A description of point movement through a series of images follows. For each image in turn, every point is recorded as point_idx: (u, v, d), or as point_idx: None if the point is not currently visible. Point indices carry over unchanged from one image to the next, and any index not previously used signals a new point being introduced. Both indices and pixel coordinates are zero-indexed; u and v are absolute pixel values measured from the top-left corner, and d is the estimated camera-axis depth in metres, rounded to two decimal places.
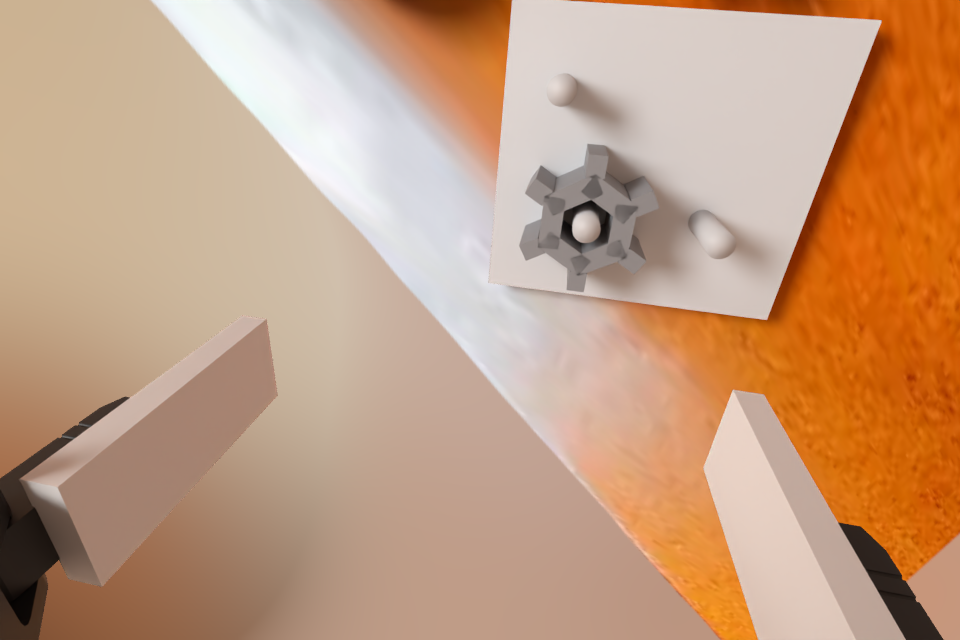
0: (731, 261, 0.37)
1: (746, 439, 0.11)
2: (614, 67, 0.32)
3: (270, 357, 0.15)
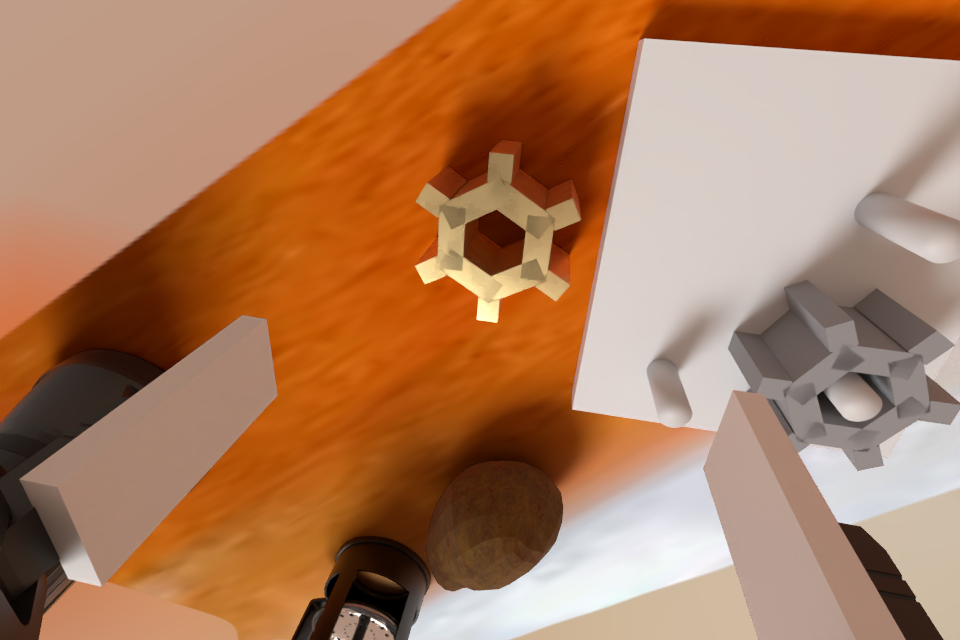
0: None
1: (745, 439, 0.11)
2: (648, 324, 0.30)
3: (270, 357, 0.15)
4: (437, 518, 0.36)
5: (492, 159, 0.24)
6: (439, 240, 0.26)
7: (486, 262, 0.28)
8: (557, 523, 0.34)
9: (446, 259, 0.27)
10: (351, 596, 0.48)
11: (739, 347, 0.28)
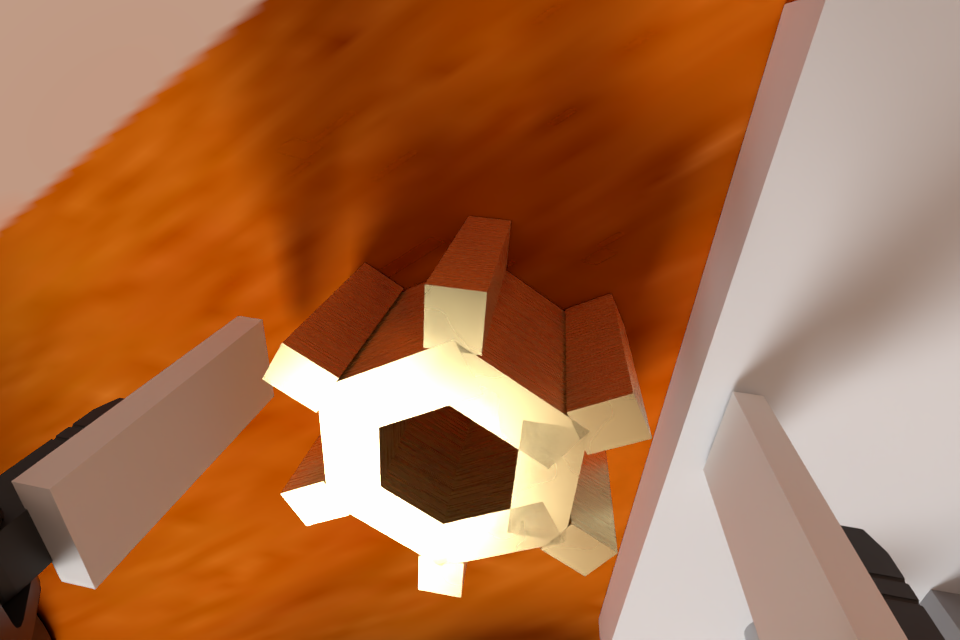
0: None
1: (746, 441, 0.11)
2: None
3: (266, 358, 0.15)
4: None
5: (433, 300, 0.10)
6: (325, 454, 0.12)
7: (437, 474, 0.13)
8: None
9: (344, 487, 0.12)
10: None
11: None
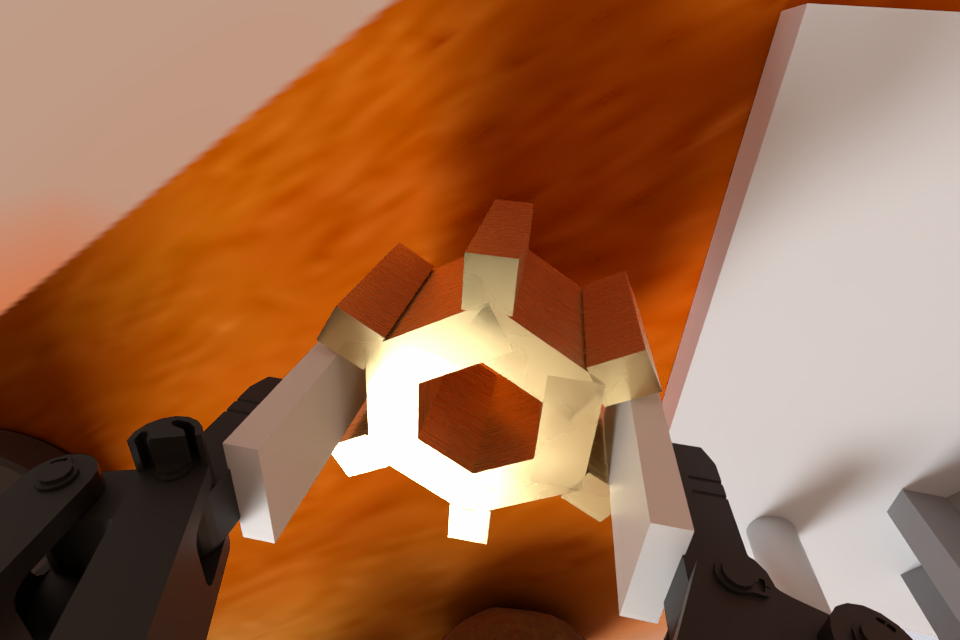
0: None
1: None
2: (757, 468, 0.19)
3: None
4: None
5: (471, 267, 0.11)
6: (369, 409, 0.13)
7: (466, 432, 0.15)
8: None
9: (385, 440, 0.14)
10: None
11: (919, 525, 0.17)
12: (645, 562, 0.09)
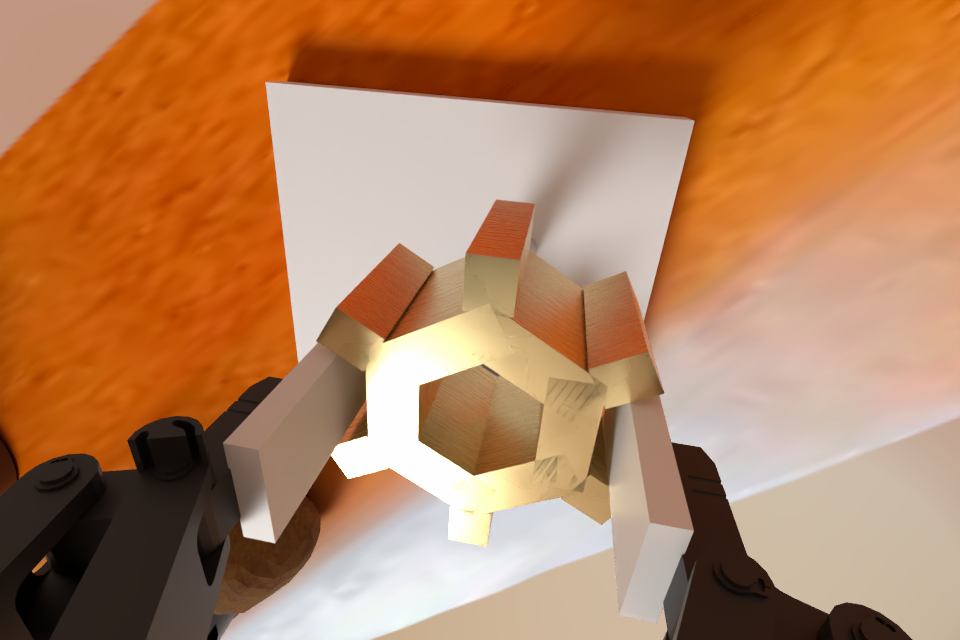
0: (580, 199, 0.24)
1: None
2: None
3: None
4: None
5: (472, 267, 0.11)
6: (369, 410, 0.13)
7: (466, 434, 0.15)
8: (297, 548, 0.35)
9: (385, 442, 0.14)
10: None
11: None
12: (644, 562, 0.09)
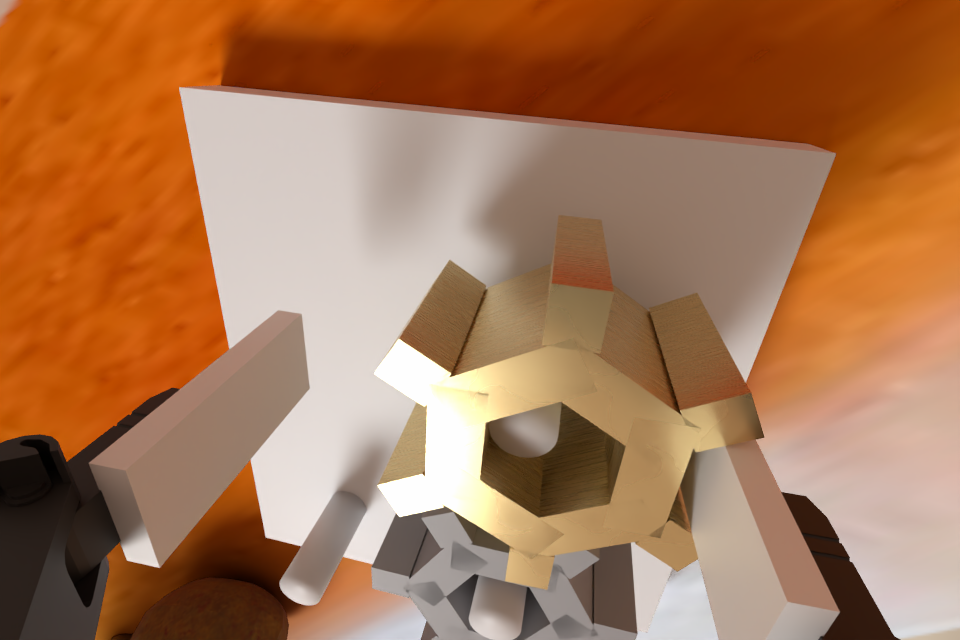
0: (639, 266, 0.16)
1: None
2: (314, 450, 0.23)
3: (304, 351, 0.15)
4: None
5: (558, 299, 0.10)
6: (428, 447, 0.12)
7: (526, 469, 0.14)
8: None
9: (443, 480, 0.13)
10: None
11: None
12: None
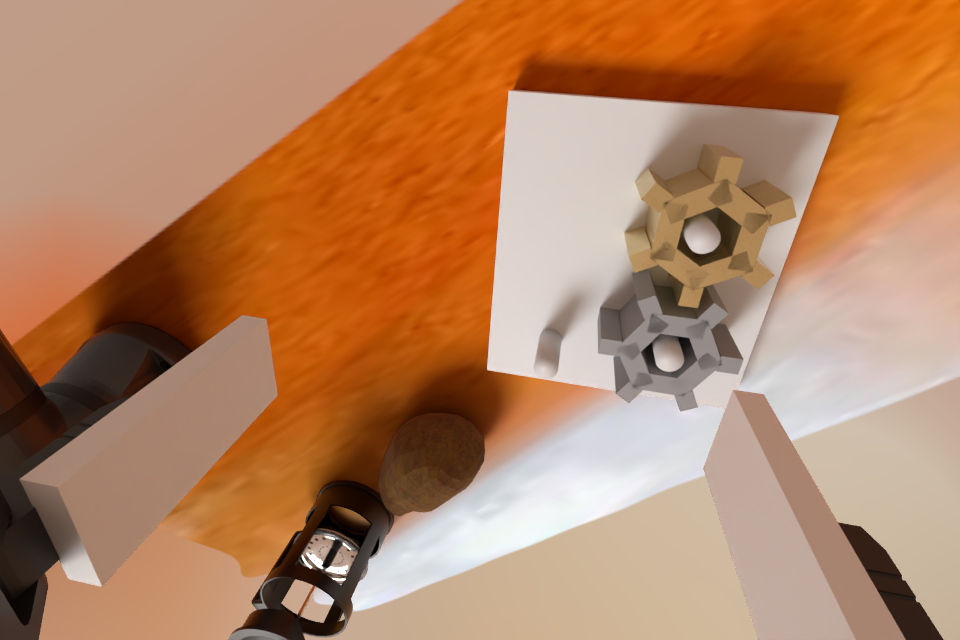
0: (743, 175, 0.32)
1: (746, 439, 0.11)
2: (536, 301, 0.39)
3: (270, 357, 0.15)
4: (385, 456, 0.46)
5: (722, 162, 0.27)
6: (656, 233, 0.30)
7: (689, 254, 0.31)
8: (476, 460, 0.43)
9: (659, 250, 0.30)
10: None
11: (599, 319, 0.37)
12: None
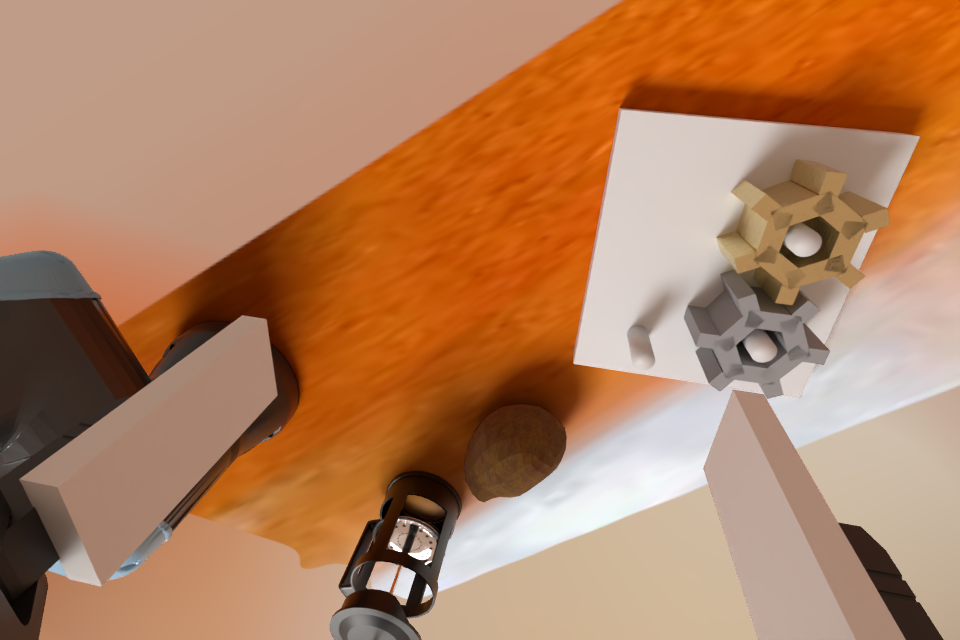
0: None
1: (746, 439, 0.11)
2: (627, 300, 0.42)
3: (270, 357, 0.15)
4: (473, 445, 0.49)
5: (828, 177, 0.31)
6: (762, 239, 0.33)
7: (785, 257, 0.35)
8: (562, 447, 0.47)
9: (763, 253, 0.34)
10: None
11: (689, 315, 0.41)
12: None
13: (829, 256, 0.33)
